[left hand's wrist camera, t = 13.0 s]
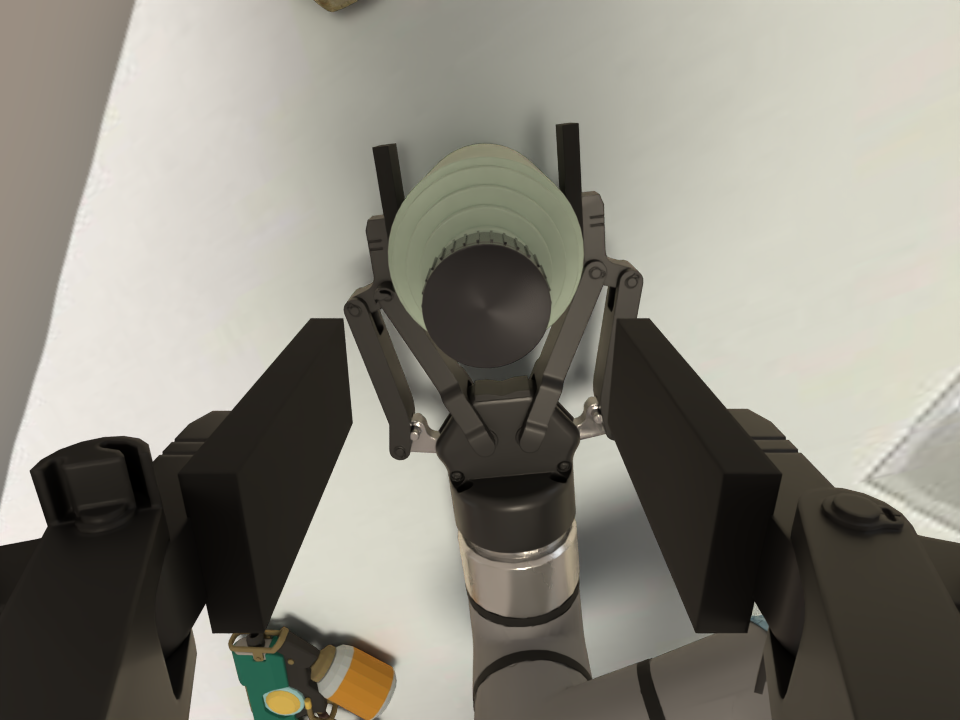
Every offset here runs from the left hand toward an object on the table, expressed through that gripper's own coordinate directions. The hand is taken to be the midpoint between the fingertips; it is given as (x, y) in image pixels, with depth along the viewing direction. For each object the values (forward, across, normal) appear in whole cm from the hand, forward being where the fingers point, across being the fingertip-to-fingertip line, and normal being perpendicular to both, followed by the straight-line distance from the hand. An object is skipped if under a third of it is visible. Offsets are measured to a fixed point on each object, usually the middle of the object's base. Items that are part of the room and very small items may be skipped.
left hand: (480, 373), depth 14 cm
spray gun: (+25, +14, +41) cm, 50 cm away
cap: (+5, 0, 0) cm, 5 cm away
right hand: (+18, 0, -5) cm, 19 cm away
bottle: (+24, 0, 0) cm, 24 cm away
